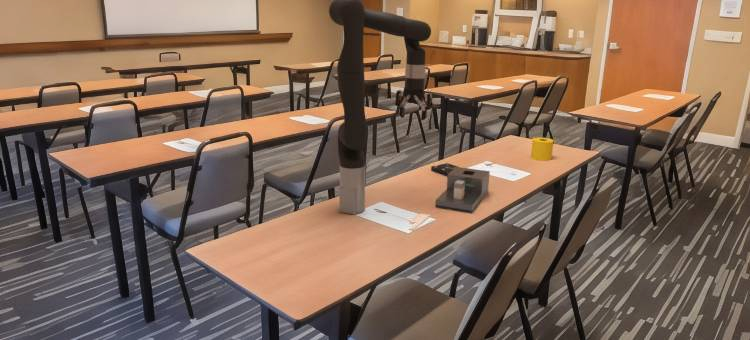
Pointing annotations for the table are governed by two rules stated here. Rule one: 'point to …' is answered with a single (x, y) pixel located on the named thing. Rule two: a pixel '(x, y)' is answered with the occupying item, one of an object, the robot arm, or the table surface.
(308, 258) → the table surface
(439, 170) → the disk drive
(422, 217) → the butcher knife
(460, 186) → the plug
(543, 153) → the tape roll
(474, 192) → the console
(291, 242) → the table surface
